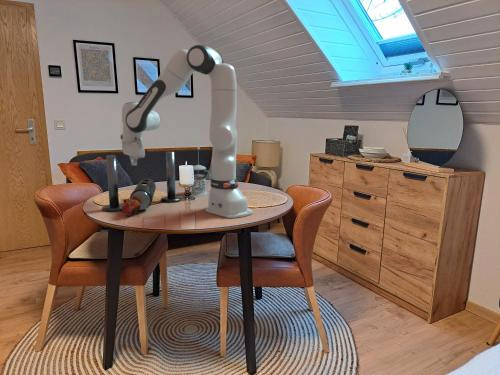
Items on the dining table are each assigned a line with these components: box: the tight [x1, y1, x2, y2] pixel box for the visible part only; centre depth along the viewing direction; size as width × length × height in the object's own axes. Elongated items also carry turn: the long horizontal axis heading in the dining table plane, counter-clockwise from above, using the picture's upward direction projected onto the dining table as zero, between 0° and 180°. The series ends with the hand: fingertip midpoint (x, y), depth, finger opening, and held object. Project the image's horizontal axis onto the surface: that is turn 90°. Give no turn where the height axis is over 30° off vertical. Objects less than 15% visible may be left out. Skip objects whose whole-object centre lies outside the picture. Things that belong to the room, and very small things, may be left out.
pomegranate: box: [122, 198, 141, 217], centre depth 152 cm, size 7×7×10 cm
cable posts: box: [102, 151, 183, 213], centre depth 167 cm, size 10×38×24 cm, turn 128°
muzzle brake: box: [129, 177, 157, 211], centre depth 169 cm, size 10×28×10 cm, turn 10°
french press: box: [190, 146, 212, 196], centre depth 193 cm, size 10×12×25 cm
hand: (134, 165), depth 175 cm, fingers closed
